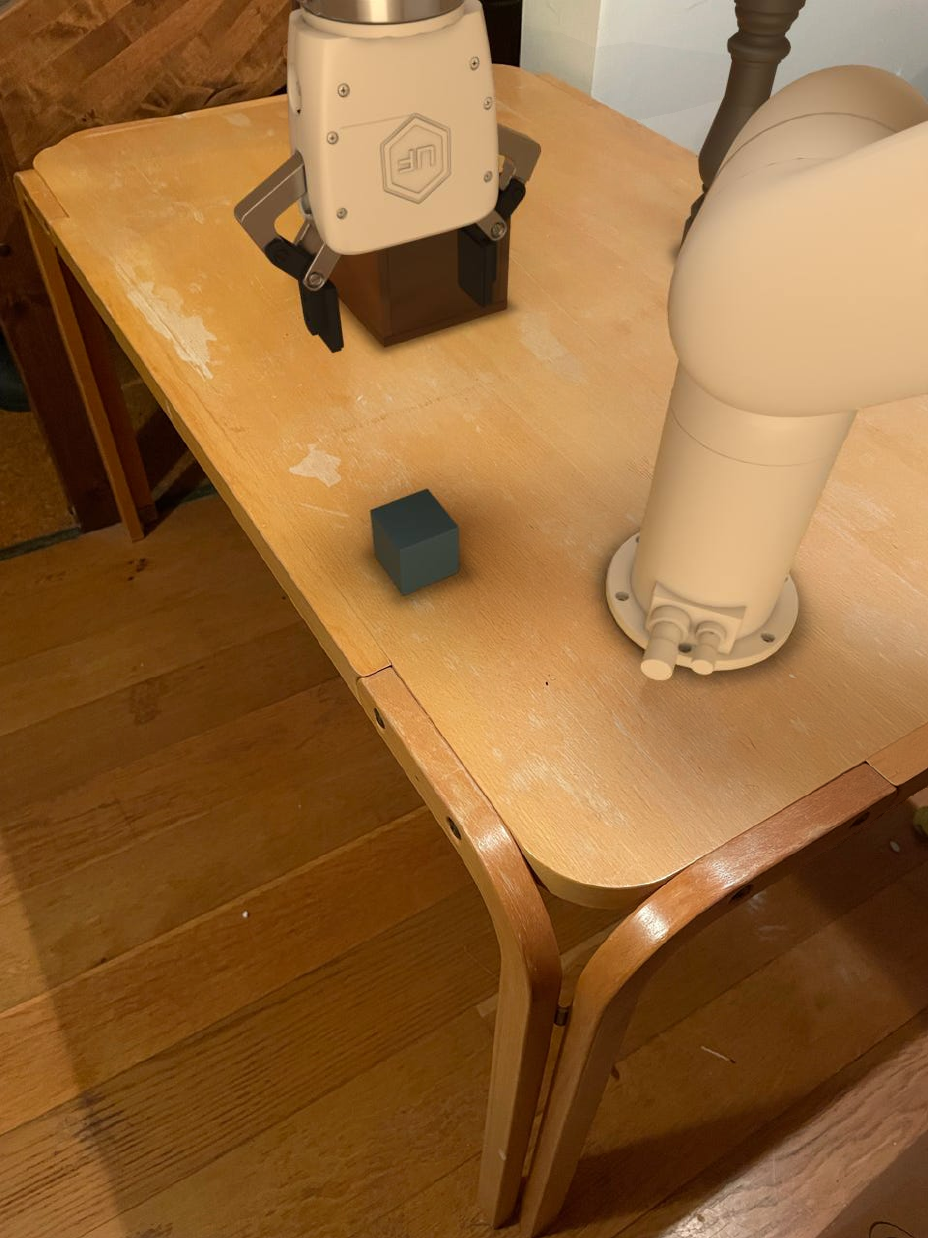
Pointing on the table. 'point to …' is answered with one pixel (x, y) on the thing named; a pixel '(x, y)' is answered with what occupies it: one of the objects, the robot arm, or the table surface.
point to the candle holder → (745, 79)
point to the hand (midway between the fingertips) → (403, 317)
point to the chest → (414, 287)
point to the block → (415, 541)
